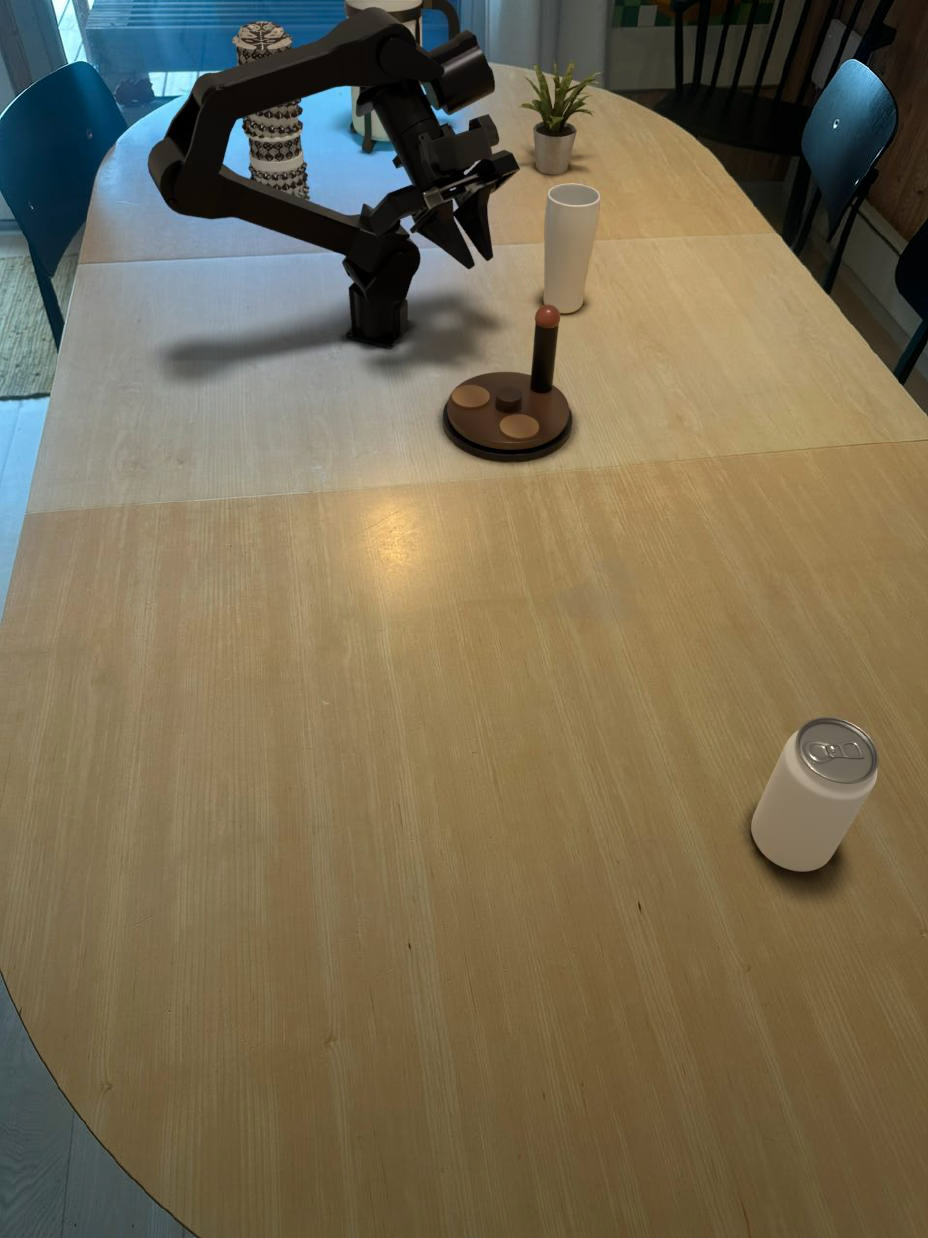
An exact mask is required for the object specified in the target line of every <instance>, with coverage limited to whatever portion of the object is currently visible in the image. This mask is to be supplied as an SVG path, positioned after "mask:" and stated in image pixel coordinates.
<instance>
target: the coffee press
mask: <svg viewBox="0 0 928 1238" xmlns="http://www.w3.org/2000/svg"><path fill="white" fill-rule="evenodd" d="M343 7H344V15H345V16H346V19H347V18H349V17H351V16H353V15H354V14H356V13H358V12H360V11H362V10H364V9H366V8H369V7H378V8H381V9H383V10H385V11H386V12H388V13H389V14H390V15H392V16H393V17H394V18H395V19H397V20H398V21H399V22H401V23H402V24H403V25H404V26H406V27H407V28H408V29H409V30H410V31H411V33H412V34H413V36H414V38H415V41H416V43H418V44H419V45H420V46H421V47H423V14H424V10H433V11H439V12H442V13H443V14H444V16H445V17H446V20H447V24H448V25H447V26H448V41H450V40H452V39H453V38H454V37H455V36H456V35H458V34H459V33H461V27H460V18H459V16H458V12H457V10H456V9H455V7H454V6H453V4H452V3H451V2H450V1H449V0H343ZM421 87H422V88H423V85H421ZM425 95H426V93H425ZM358 96H359V87H352V86H350V99H351V101H350V102H351V116H352V117H351V118H352V121H351V122H350V124H349V129H350V131H352V132H353V133H358V134H359V135H360V136H362V137H363V141H362V144H361V151H362V152H365V153H368V154H371V153H373V151H374V148H375V145H376V144H377V143H378V142H390V140H389V138H388V136H387V134H386V132H385V130H384V128H383V126H382V124H381V122H380V120H379V118H378V116H377V114H376V112H375V110H373V111H371V112H369V113H367V114H365V115H363V116H361V117H357V116H356V101H357V99H358ZM426 97H427V95H426ZM427 99H428V97H427ZM428 101H429V99H428ZM429 103H430V101H429ZM430 105H431V103H430ZM431 107H433V106H432V105H431Z"/></svg>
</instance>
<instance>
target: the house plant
mask: <svg viewBox="0 0 928 1238" xmlns="http://www.w3.org/2000/svg"><path fill="white" fill-rule="evenodd" d="M552 59H553V69H554V77H552V79H553V82H554V104H553V103H552V99H551V94H550V89H549V85H548V82H547V78H546V76H545V74H544V73H543V72H542V70H541V69H540V68H539V65H537V64H536V63H535V62H533V61H531V64H532V67H533V69H534V71H535V74H536V78H537V81H538V85H539V87H537V86H536V84H535V83H534V82H533V81H532V80H531V79H530V78H529V77H527V76H525V75H524V76H523V77H524V78H525V79H526V81H527V82H529V84H530V85H531V87H532V89H533V90H534V91H535V93H536V94H537V95H538V98H539V99H532V100H531V103H532V104H531V103H529V102H525V103H522V104H521V105H519V106H518V107H517V108H518V109H519V108H524V109H529V110H533V111H535V112H537V113H538V114H539V115H540V117H541V119H542V121H540V122H537V123H536V124H535V125H533V128H532V129H533V130H532V131H533V143H534V157H535V167H536V170H538V171H539V172H540V173H542V174H546V175H553V176H554V175H561V174H562V175H563V174H564V173H566V172H567V171H568V168H569V164H570V160H571V157H572V151H573V149H574V148H573V147H574V145H575V141H576V136H577V131H578V129H577V128H576V127H577V126H575V125H574V124H572V123H573V121H571V122H568V120H569V119H570V117H571V116H572V115H574V114H576V113H580V116H582V115H583V114H587V115H591V117H594V115H593V113H594V110H588V109H585V108H581V107H584V106H585V105H587V106H588V105H589V104H588V103H586V102H584V100H586V99H587V98H589V97H592V96H593V94H589V92H586V91H585V92H584V91H583V90H584V88H586V87H587V86H588V85H591V84H604V82H601V81H596V80H598V78H595V77H596V76H597V75H600V74H603V73H604V72H605V70H603V71H598V72H595V73H592V74H590V75H589V76H587V77H586V78H584V79H583V80H582V81H581V82H580V83H578V84H576V85H573V86H571V83H572V81H573V79H574V78H573V76H574V75H573V73H574V68H575V63H576V61H574V62H573V58H571V59H570V60H569V63H568V67H567V69H566V70H565V72H564V74H563V76H562V79H561V80H560V74H559V70H558V65H557V63H556V61H555V58H552ZM572 90H573V91H572ZM571 91H572V92H571ZM582 91H583V92H582ZM569 92H571V94H570V95H569V96H568V97H567V98H566V96H567V94H568V93H569ZM580 95H584V96H582V97H581V98H579V96H580ZM576 100H577V101H576ZM576 119H578V117H576V118H575V120H576Z"/></svg>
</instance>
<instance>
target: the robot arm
mask: <svg viewBox="0 0 928 1238" xmlns="http://www.w3.org/2000/svg"><path fill="white" fill-rule="evenodd" d="M493 71H494V70H493V69H492V67H491V66H490V65H489V62H488V59H487V58H486V55H485V54H484V52H483V50H482V49H481V46H480V45H479V42H478V38H477V35H476V34H475V33H473V32H472V31H471V30H469V29H465V30H462V31H460V33H459V34H458V35H456V36H455V37H454V38H453V39H452V40H450V41H449V40H448V41H446V42H444V43H442V44H440V45H438V46H436V47H435V48H432V49H430V50H427V49H425V48H424V47H423V46H422V47H421V46H420V45H419V44H418V43H416V41H415V38H414V36H413V34H412V33H411V31H410V30H409V29H408V28H407V27H406V26H404V25H403V24H402V23H401V22H399V21H398V20H397V19H395V18H394V17H393V16H392V15H390V14H389V13H388V12H386V11H385V10H383V9H381V8H378V7H369V8H366V9H364V10H362V11H360V12H358V13H356V14H354V15H353V16H351V17H349V18H347V17H346V18H345V19H343V20H342V21H340V22H339V23H338V24H336V25H335V27H333V28H332V29H331V30H330V31H329V32H328V33H327V34H326V35H324V36H322V37H320V38H319V39H317V40H315V41H311V42H308V43H306V44H302V45H299V46H296V47H292V49H289V50H286V51H283V52H280V53H277V54H274V55H270V56H267V57H264V58H261V59H258V60H255V61H252V62H248V63H245V64H242V65H239V66H237V65H236V66H233V67H229V68H226V69H224V70H220V71H218V72H216V71H215V72H205V73H203V74H201V75H200V76H198V78H196V80H195V81H194V84H193V86H192V88H191V91H190V93H189V95H188V97H187V99H186V100H185V101H184V103H183V104H182V106H181V107H180V108H179V110H178V111H176V113H175V115H174V116H173V117H172V119H171V121H170V123H169V125H168V127H167V129H166V132H165V134H164V137H163V138H162V139H161V140H160V141H157V143H156V144H154V145H153V147H152V148H151V150H150V152H149V154H148V157H147V169H148V174H149V176H150V177H151V179H152V181H153V183H154V185H155V186H156V188H157V191H158V192H159V194H160V195H161V197H162V200H163V201H164V203H165V204H166V206H167V207H168V208H169V209H170V210H171V211H173V212H175V213H176V214H178V215H182V216H186V217H193V218H199V219H205V220H221V219H222V220H223V219H230V218H232V219H239V220H241V221H244V222H246V223H249V224H252V225H255V226H259V227H261V228H264V229H267V230H270V231H272V232H275V233H278V234H282V235H285V236H287V237H290V238H293V239H295V240H299V241H302V242H304V243H306V244H307V243H308V244H310V245H312V246H313V245H314V246H316V247H319V248H322V249H325V250H328V251H331V252H334V253H336V254H339V255H342V256H344V258H343V259H342V261H341V265H342V266H343V269H344V271H345V273H346V275H347V277H349V278H350V279H351V281H352V283H351V285H349V287H348V299H349V300H348V301H349V316H350V328H349V329H348V330H347V332H346V333H345V338H346V339H347V340H348V339H349V340H352V341H356V342H362V343H366V344H368V345H369V344H370V345H374V346H378V347H382V348H387V349H391V348H393V347H394V346H395V344H397V342H398V341H399V340H400V339H401V337H403V335H404V334H405V333H406V332H407V330H408V329H409V327H410V326H411V321H410V320H409V301H408V299H407V295H408V293H409V290H410V287H411V284H412V281H413V277H414V276H415V275H416V273H418V270H419V267H420V265H421V258H422V257H421V255H422V254H421V252H420V248H419V246H418V245H417V244H416V243H415V242H414V241H413V240H412V238H410V237H411V234H416V233H417V234H419V235H421V236H422V237H424V238H425V239H427V240H428V241H430V242H431V243H433V244H435V245H436V246H438V247H439V248H440V249H441V250H443V251H444V252H445V253H446V254H448V255H449V256H450V257H451V258H453V259H454V260H456V261H457V262H458V263H459V264H461V265H462V266H464V268H466V269H467V270H471V269H473V268H474V267H475V265H476V262H475V261H474V258H473V255H472V252H471V250H470V248H469V246H468V244H467V241H466V240H465V238H464V236H463V234H462V232H461V230H460V228H459V225H460V227H461V229H462V230H463V232H464V233H465V235H466V236H467V238H468V239H469V240H470V242H471V243H472V244H473V246H474V248H475V250H477V252H478V253H479V254H480V255H481V257H482V258H483V259H484V260H485V262H489V261H491V260H492V259H493V258H494V251H493V243H492V237H491V230H490V224H489V210H488V209H489V208H488V206H489V200H490V197H491V194H493V193H495V192H496V191H499V189H501V187H502V186H503V185H505V184H506V183H507V182H508V181H509V180H510V179H511V178H513V177H514V176H515V175H516V174H517V173H519V171H520V170H521V167H520V166H519V163H518V161H517V159H516V157H515V155H514V154H513V152H512V151H509V150H506V149H502V150H500V151H497V152H494V153H493V150H492V147H495V146H498V145H499V143H500V135H499V131H498V127H497V126H496V124H495V122H494V121H493V119H492V116H490V113H487V114H483V115H480V116H477V117H474V118H471V119H469V120H468V130H465V131H462V132H458V133H456V131H455V130H454V128H453V126H452V125H451V124H449V122H446V123H443V124H440V121H439V120H438V118H437V115H436V113H435V112H434V110H435V111H436V112H439V111H440V110H442V111H443V112H444V113H445V115H447V116H451V115H453V114H455V113H457V112H459V111H461V110H463V109H465V108H467V107H469V106H471V105H473V104H474V103H476V102H478V101H480V100H482V99H484V98H486V97H487V96H489V95H491V94H493V93H494V92H495V90H496V81H495V75H494V72H493ZM421 85H422V87H421ZM351 86H352V87H359V96H358V99H357V101H356V116H357V117H361V116H363V115H365V114H367V113H369V112H371V111H373V110H375V112H376V114H377V116H378V118H379V120H380V122H381V124H382V126H383V128H384V130H385V132H386V134H387V136H388V138H389V140H390V141H389V142H390V143H391V145H392V148H393V150H394V151H395V154H396V155H395V156H394V158H393V159H392V160H391V161H392V163H393V165H394V168H395V169H396V170H398V169H401V168H403V169H404V171H405V174H406V175H407V177H408V179H409V181H410V182H411V184H409V185H406V186H404V187H400V188H398V189H396V190H392V191H390V192H388V193H387V194H386V195H385V196H384V197H383V198H382V199H381V200H380V201H379V203H378V204H377V205H375V207H373V206H370V205H369V204H367V203H365V202H364V203H363V204H362V207H361V211H360V213H359V214H345V213H341V212H339V211H336V210H334V209H331V208H328V207H326V206H322V205H320V204H318V203H316V202H312V201H310V200H309V201H307V200H305V199H302V198H299V197H297V196H294V195H291V194H289V193H286V192H283V191H281V190H278V189H275V188H273V187H270V186H267V185H265V184H262V183H259V182H257V181H254V180H251V179H250V177H246V176H243V175H241V174H239V173H237V172H235V170H232V169H231V168H230V167H228V166H227V165H226V164H224V160H225V156H226V152H227V149H228V144H229V141H230V137H231V133H232V131H233V129H234V126H235V125H236V123H237V121H238V120H240V119H242V118H244V117H247V116H250V115H253V114H256V113H259V112H262V111H265V110H268V109H271V108H274V107H277V106H280V105H283V104H287V103H290V102H293V101H296V100H299V99H301V100H302V99H305V98H307V97H311V96H314V95H317V94H319V93H323V92H326V91H329V90H332V89H335V88H342V87H351ZM425 94H426V95H427V97H428V99H429V101H430V103H431V105H432V106H431V105H430V103H429V101H428V99H427V97H426V95H425ZM467 170H469V171H468V172H466V171H467ZM465 172H466V174H465ZM454 202H455V205H456V206H457V208H456V209H455V210H454ZM407 217H408V218H409V217H411V219H412V222H413V223H414V225H412V226H411V228H409V232H410V233H411V234H410V233H409V232H408V231H407V230H406V228H405V227H404V226H403V225H402V224H401V223H402V220H403V219H405V218H407ZM456 221H457V222H456ZM457 223H458V224H459V225H458V224H457Z"/></svg>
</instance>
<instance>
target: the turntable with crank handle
mask: <svg viewBox="0 0 928 1238" xmlns="http://www.w3.org/2000/svg"><path fill="white" fill-rule="evenodd" d="M534 320H535V325H534V333H533V334H534V336H533V346H532V347H533V348H532V359H531V360H532V361H531V370H530V371H531V373H530V374H528V373H525V372H516V371H493V372H487V373H482V374H479V375H475V376H473V377H470V378H468V379H466V380H464V381H462V382H461V383H460V384H458V385H457V386H456V387H455V388H454V389H453V390H452V392H451V393H450V394H449V397H448V399H447V401H448V404H447V414H448V418H449V421H450V423H451V425H452V426H453V428H454V429H455V430H456V431H457V432H458V433H459V434H460V435H462V436H463V437H465V438H466V439H468V440H470V441H472V442H474V443H476V444H479V445H482V446H486V447H490V448H495V449H503V450H520V449H528V448H533V447H537V446H540V445H543V444H545V443H548V442H549V441H551V440H553V439H554V438H556V437H557V436H558V435H559V434H561V433H562V431H563V430H564V429H565V427H566V425H567V423H568V419H569V408H570V405H569V404H570V403H569V401H568V399H567V397H566V396H565V394H564V393H563V392H562V391H561V390H560V389H559V388H558V387H557V386H555V385H554V377H555V376H554V374H555V364H556V355H557V346H558V337H559V336H558V335H559V325H560V321H561V313H559V311H558V309H557V308H556V307H555V306H553V305H545V304H543V305H541V306H540V307H539V308H538V309H537V310H536V312H535V315H534Z"/></svg>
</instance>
